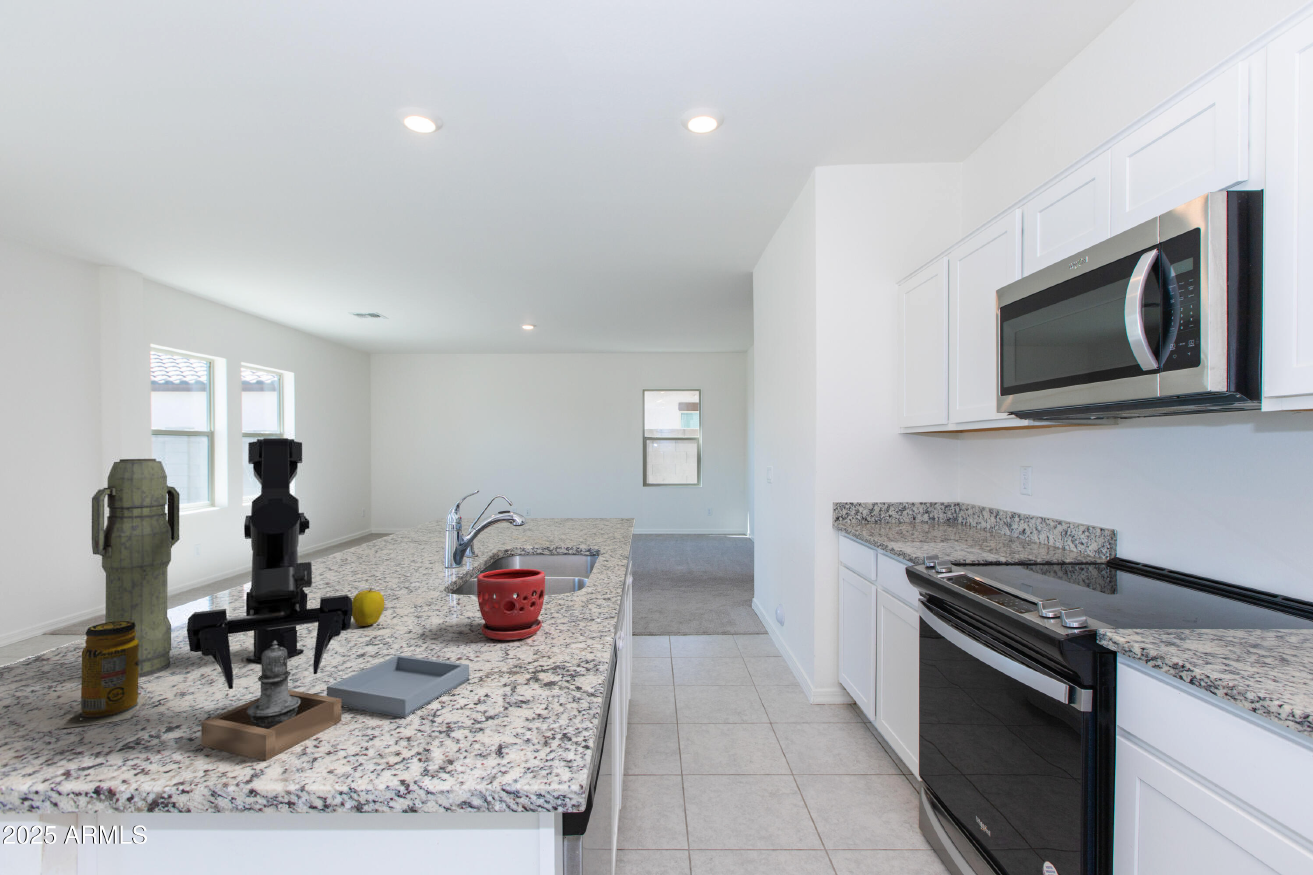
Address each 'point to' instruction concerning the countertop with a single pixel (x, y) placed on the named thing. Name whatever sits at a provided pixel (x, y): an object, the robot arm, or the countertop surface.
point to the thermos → (138, 553)
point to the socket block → (247, 740)
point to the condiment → (108, 675)
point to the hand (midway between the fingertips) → (274, 679)
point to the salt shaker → (274, 691)
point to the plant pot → (511, 602)
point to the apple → (367, 607)
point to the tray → (399, 685)
